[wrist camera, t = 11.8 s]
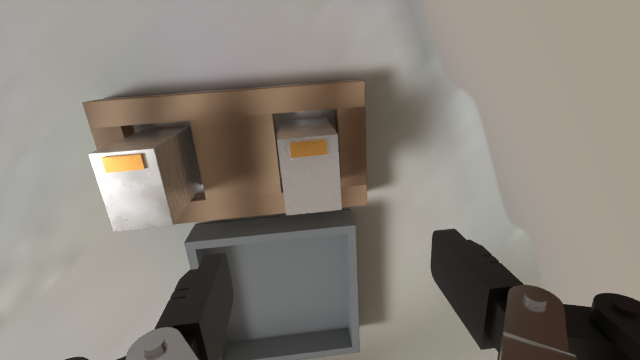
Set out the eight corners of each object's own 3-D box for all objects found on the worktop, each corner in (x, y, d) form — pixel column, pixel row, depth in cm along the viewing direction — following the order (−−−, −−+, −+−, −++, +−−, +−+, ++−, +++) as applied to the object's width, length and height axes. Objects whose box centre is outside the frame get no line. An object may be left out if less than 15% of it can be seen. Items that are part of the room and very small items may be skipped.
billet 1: (157, 188, 30) (112, 232, 22) (142, 129, 28) (86, 155, 20) (202, 184, 30) (172, 226, 22) (189, 125, 28) (152, 149, 20)
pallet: (137, 214, 31) (122, 229, 29) (103, 98, 28) (82, 102, 25) (360, 192, 33) (366, 204, 30) (357, 79, 29) (364, 81, 26)
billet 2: (287, 178, 30) (286, 216, 23) (280, 119, 29) (276, 140, 21) (329, 173, 31) (342, 210, 23) (325, 115, 29) (338, 135, 21)
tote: (221, 343, 38) (215, 370, 34) (194, 224, 32) (184, 242, 29) (353, 327, 39) (359, 351, 35) (349, 209, 33) (355, 225, 30)
